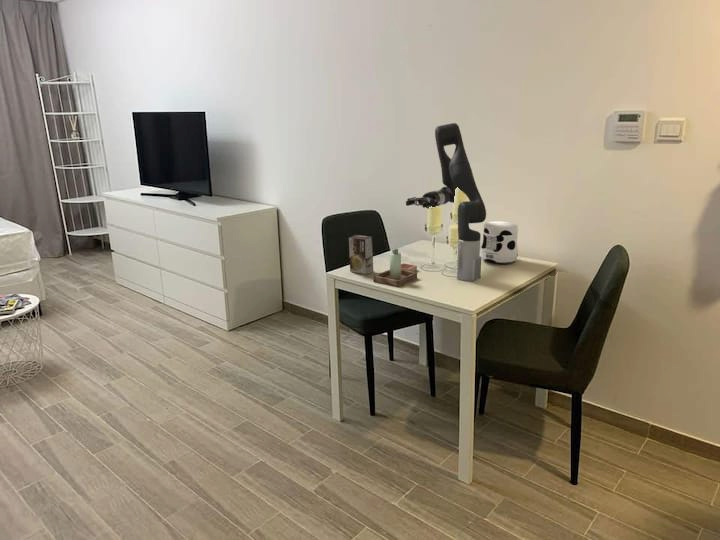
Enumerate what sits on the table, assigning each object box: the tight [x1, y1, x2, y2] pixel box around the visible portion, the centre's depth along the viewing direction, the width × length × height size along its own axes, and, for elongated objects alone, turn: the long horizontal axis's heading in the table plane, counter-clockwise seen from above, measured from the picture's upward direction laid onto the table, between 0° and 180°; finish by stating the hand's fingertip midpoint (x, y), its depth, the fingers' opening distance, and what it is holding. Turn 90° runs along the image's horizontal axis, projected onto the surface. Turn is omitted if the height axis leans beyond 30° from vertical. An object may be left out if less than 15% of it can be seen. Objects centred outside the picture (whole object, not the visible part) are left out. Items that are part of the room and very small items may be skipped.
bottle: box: [389, 248, 402, 280], centre depth 231 cm, size 5×5×13 cm
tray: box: [373, 269, 418, 288], centre depth 232 cm, size 13×15×2 cm
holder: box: [401, 262, 418, 272], centre depth 245 cm, size 7×7×2 cm
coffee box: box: [348, 234, 374, 275], centre depth 244 cm, size 9×6×16 cm
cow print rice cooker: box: [480, 220, 519, 265], centre depth 255 cm, size 17×17×18 cm
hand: (414, 204), depth 239 cm, fingers open, 8 cm apart
